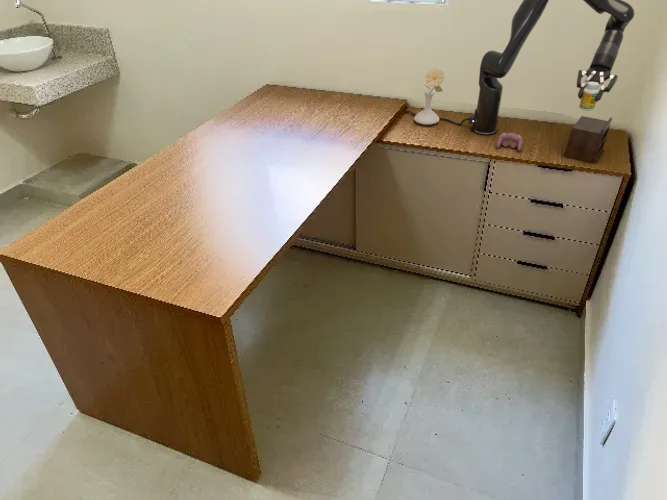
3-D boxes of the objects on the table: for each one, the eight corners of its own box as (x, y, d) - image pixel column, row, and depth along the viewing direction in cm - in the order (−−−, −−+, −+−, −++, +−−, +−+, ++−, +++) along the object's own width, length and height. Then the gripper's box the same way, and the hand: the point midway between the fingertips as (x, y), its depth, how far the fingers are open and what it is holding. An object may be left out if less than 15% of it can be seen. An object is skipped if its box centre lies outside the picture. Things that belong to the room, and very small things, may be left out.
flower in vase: (408, 122, 232) (412, 66, 217) (424, 115, 238) (429, 61, 223) (431, 130, 224) (436, 73, 209) (447, 123, 230) (453, 67, 215)
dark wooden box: (564, 156, 200) (573, 123, 192) (574, 143, 209) (582, 112, 201) (593, 163, 195) (603, 130, 187) (602, 149, 204) (612, 117, 196)
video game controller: (520, 152, 207) (525, 135, 206) (520, 151, 203) (524, 134, 202) (496, 148, 211) (500, 131, 209) (495, 147, 207) (499, 130, 205)
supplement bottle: (584, 104, 196) (591, 79, 190) (597, 108, 192) (604, 83, 186) (575, 107, 193) (582, 82, 188) (588, 112, 190) (595, 86, 184)
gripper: (624, 66, 189) (608, 107, 189) (584, 60, 196) (568, 100, 196) (626, 55, 183) (609, 97, 182) (584, 49, 190) (567, 91, 189)
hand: (588, 99), depth 189 cm, fingers closed on supplement bottle, 5 cm apart
